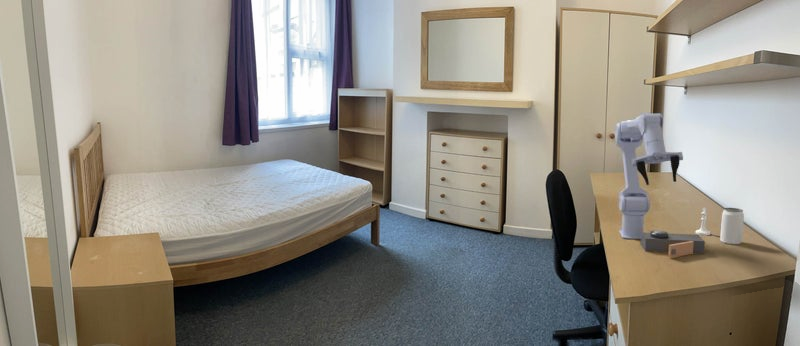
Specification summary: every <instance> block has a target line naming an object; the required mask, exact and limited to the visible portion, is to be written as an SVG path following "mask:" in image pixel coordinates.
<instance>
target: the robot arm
mask: <svg viewBox="0 0 800 346" xmlns="http://www.w3.org/2000/svg"><path fill="white" fill-rule="evenodd" d="M663 119H664V117H663V114H662V113H659V112H658V113H651V112H646V113H643V112H642V113H640V115H638V116H637V117H636V118H635V119H630V120H624V121H620V122H617V124H616V125H615V126H614V127H615V128H614V136H615V143H616V146H617V148H620V149H621V151H620V152H621V155H622V163H623V164H622V165H623V171H624V174H623V175H624V182H625V188H623V189H622V190H621V191H620V192H619V194H618V210H619V211H620V212H621V213H622V219H621V229H619V230H618V232H619V234H620V236H621V237H622V239H633V240H635V239H636V240H641V232H644V227H645V226H644V225H645V215H647V213H649V211H650V210H651V200H650V198H649V195H648V191H647V190H645V189H644V188H642V187H641V186H640V178H639V174H640V175H641V176H642V178H643V179H644V182H645V184H646V186H649V185H650V182H649V178H648V173H647V168H646V165H648V164H649V165H650V164H655V165H656V164H661V163H663V162H670V167H671V172H672V181H673V182H674V183H676V182H677V173H678V169H679V166H680V161H683V160H684V155H683V152H682V151H678V152H677V151H675V152H674V151H673V152H672V151H671V152H670V151H668V152H667V151H666V147H665V146H666V145H665V140H664V135H663V131H662V129H663V124H664V120H663ZM643 143H644V144H643ZM642 144H643V145H644V148H645V155H642V156H639V157H637V154H636V151H637V150H636V149H637V148H639V147H641V146H642Z"/></svg>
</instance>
